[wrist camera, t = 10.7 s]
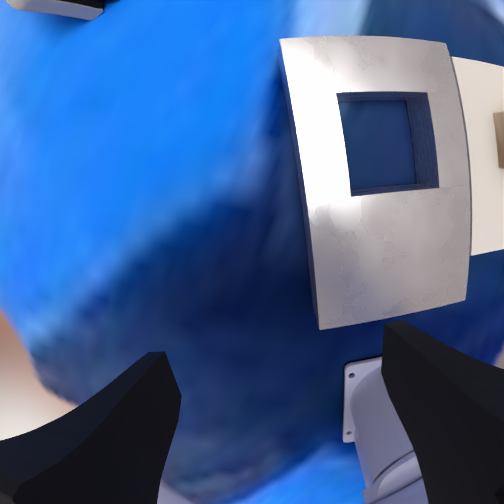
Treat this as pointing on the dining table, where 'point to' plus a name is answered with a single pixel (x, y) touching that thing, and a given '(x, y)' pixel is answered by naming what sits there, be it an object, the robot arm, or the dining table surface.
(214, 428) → the dining table surface
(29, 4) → the hinge
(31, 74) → the dining table surface
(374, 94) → the white frame
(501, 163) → the peg
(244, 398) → the dining table surface
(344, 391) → the robot arm
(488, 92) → the pad
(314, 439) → the dining table surface
